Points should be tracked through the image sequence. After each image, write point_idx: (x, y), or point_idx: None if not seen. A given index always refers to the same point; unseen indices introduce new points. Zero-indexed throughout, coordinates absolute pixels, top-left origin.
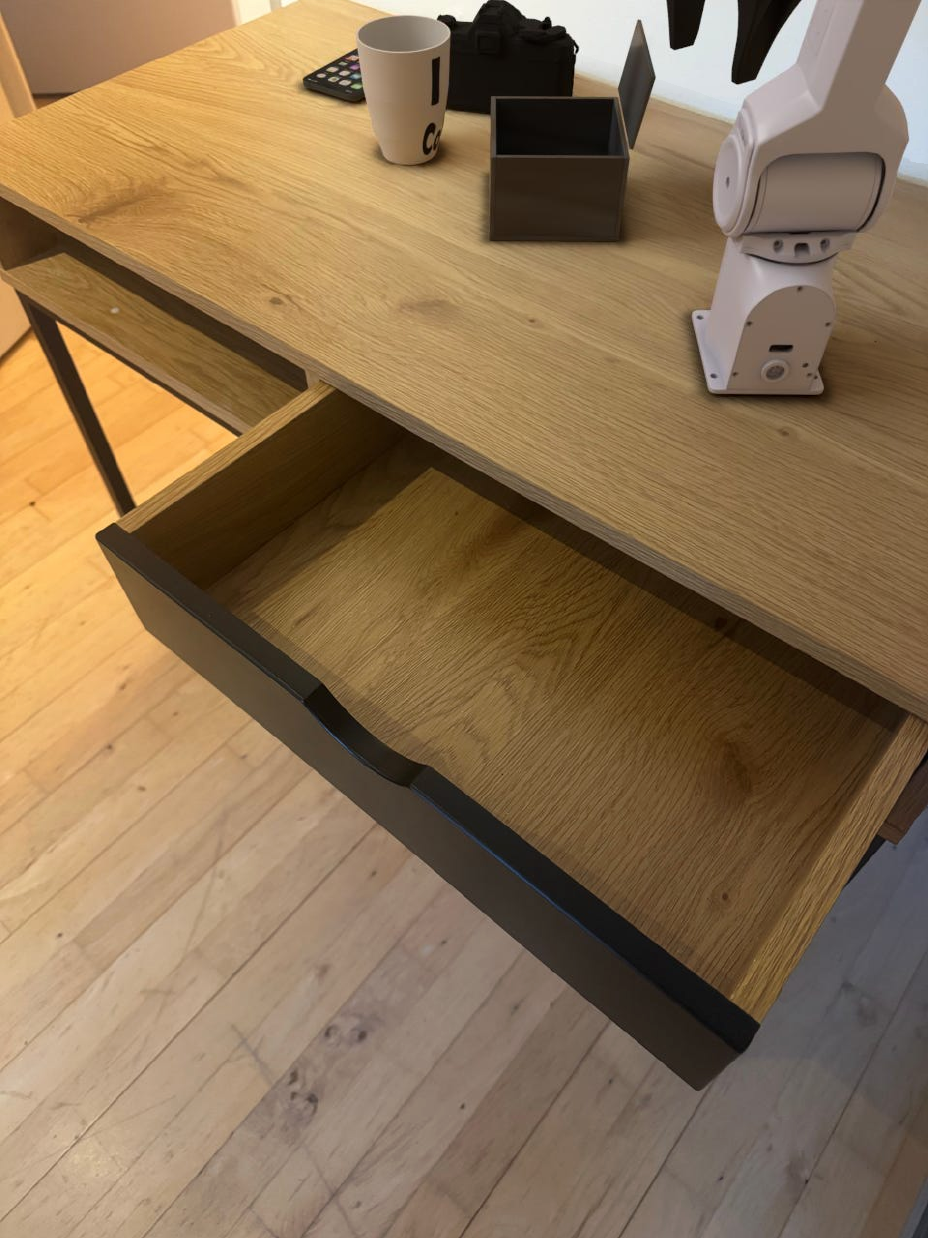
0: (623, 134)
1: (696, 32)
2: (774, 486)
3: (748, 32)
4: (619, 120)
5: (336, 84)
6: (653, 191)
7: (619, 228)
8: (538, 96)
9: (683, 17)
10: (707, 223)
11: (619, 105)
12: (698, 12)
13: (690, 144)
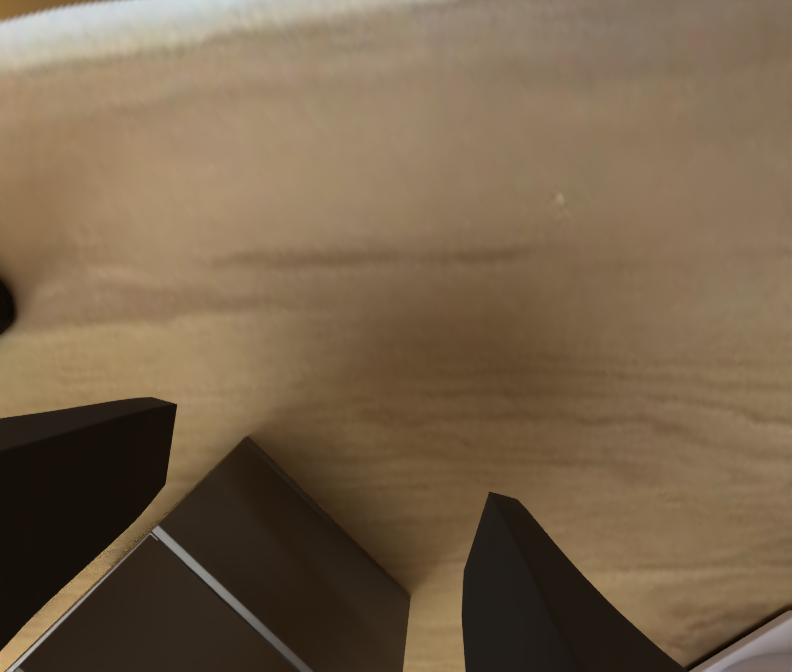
0: (308, 670)
1: (152, 415)
2: None
3: None
4: (252, 621)
5: None
6: (342, 418)
7: (408, 613)
8: (41, 638)
9: (91, 521)
10: (494, 447)
11: (196, 561)
12: (96, 447)
13: (265, 195)
